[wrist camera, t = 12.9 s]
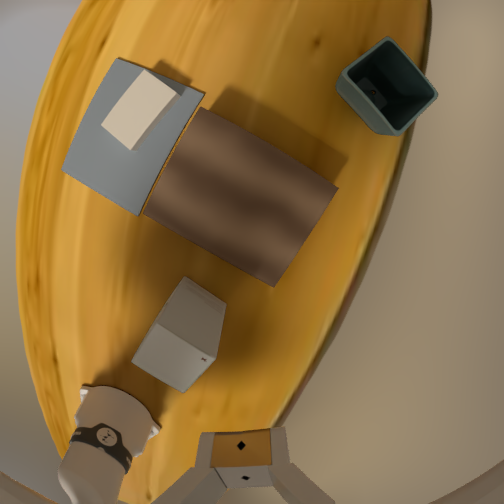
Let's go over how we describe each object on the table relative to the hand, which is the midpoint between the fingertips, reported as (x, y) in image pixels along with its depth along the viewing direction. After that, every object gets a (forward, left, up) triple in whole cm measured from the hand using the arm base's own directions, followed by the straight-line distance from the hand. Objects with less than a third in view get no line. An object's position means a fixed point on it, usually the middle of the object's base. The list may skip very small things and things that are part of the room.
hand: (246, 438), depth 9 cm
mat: (+4, +22, -29) cm, 37 cm away
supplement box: (-13, +2, -29) cm, 32 cm away
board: (+4, +4, -29) cm, 30 cm away
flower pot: (+24, -3, -29) cm, 38 cm away
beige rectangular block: (+8, +21, -27) cm, 35 cm away
